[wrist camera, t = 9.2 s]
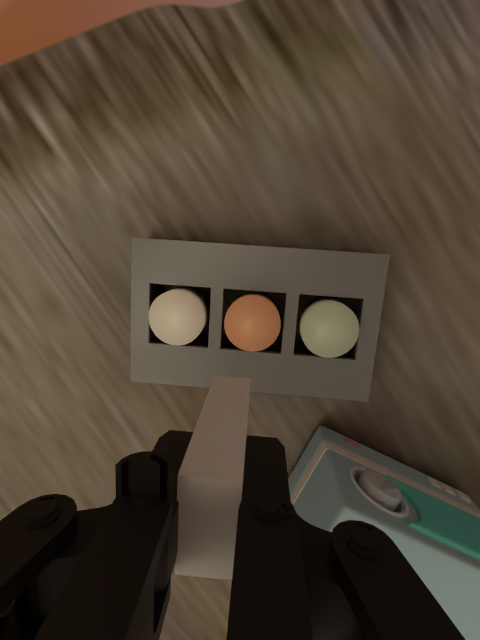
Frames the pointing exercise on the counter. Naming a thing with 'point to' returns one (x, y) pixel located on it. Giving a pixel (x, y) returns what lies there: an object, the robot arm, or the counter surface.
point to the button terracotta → (252, 322)
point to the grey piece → (268, 276)
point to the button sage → (328, 327)
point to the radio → (396, 516)
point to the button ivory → (178, 316)
